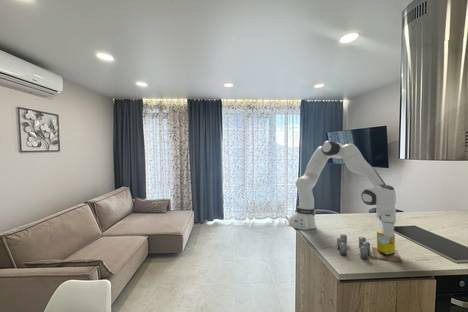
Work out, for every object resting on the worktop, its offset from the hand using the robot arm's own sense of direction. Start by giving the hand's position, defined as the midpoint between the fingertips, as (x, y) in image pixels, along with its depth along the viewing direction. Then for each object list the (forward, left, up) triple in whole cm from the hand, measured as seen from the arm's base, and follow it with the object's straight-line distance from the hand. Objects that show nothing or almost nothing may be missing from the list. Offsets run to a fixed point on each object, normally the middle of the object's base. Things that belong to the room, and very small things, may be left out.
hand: (385, 239), depth 124 cm
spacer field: (-16, -2, -9) cm, 18 cm away
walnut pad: (0, 0, -9) cm, 9 cm away
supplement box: (0, 0, -7) cm, 7 cm away
